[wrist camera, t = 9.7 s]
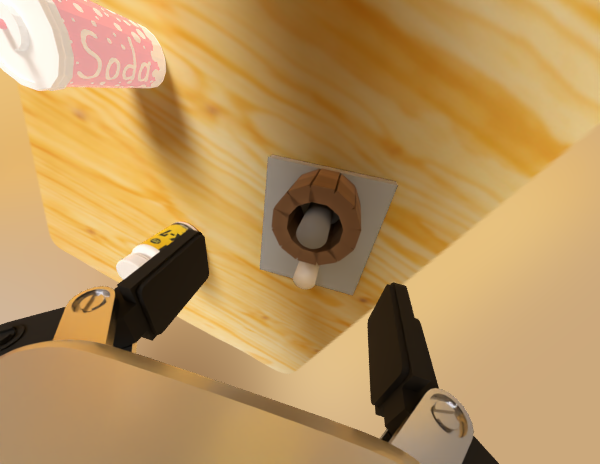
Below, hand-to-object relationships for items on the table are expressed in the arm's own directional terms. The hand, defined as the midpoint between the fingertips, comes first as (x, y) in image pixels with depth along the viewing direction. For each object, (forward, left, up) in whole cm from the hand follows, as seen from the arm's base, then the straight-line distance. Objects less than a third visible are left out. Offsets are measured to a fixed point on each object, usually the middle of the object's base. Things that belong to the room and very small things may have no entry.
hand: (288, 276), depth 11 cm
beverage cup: (-9, -19, -13) cm, 25 cm away
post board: (+4, 0, -13) cm, 14 cm away
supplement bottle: (+10, -17, -13) cm, 24 cm away
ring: (+1, 0, -12) cm, 12 cm away
